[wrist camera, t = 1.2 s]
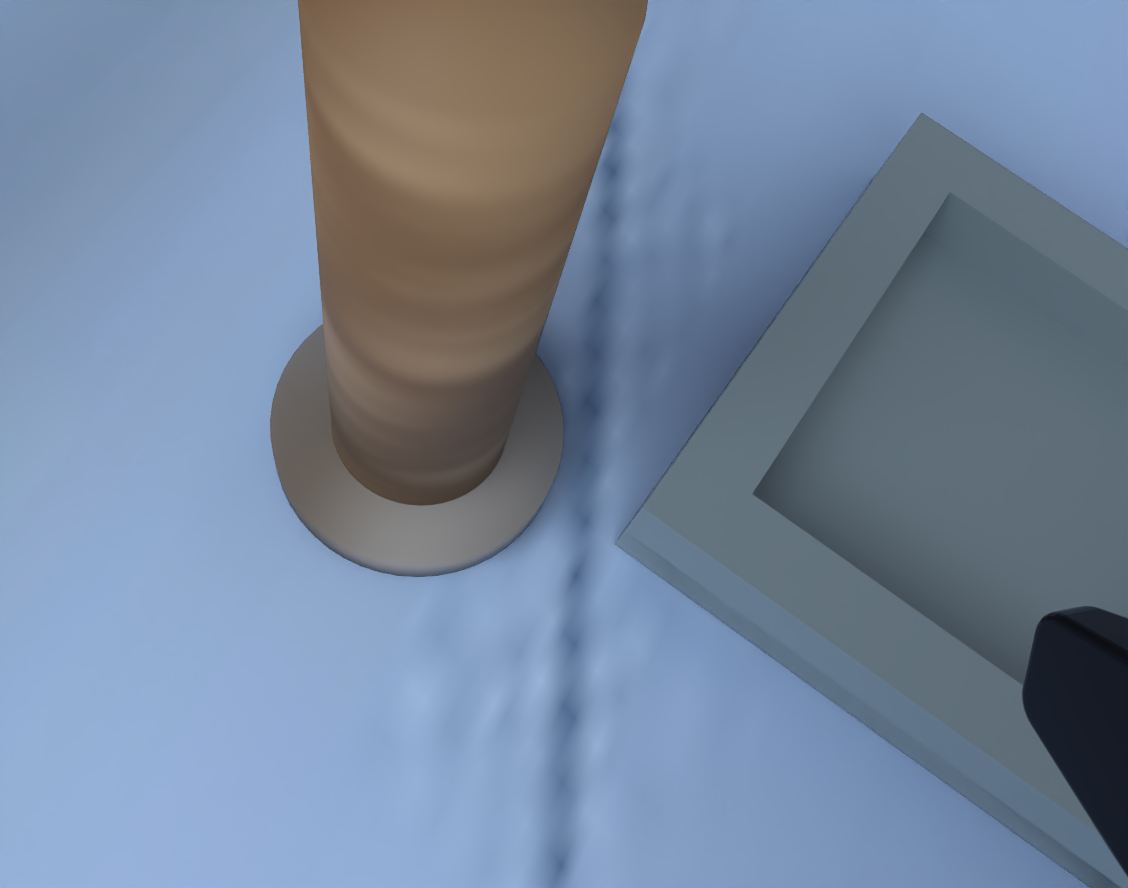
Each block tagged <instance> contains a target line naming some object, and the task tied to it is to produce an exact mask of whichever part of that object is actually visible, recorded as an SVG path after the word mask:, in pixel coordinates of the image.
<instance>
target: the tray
mask: <svg viewBox="0 0 1128 888" xmlns="http://www.w3.org/2000/svg"><path fill="white" fill-rule="evenodd" d="M615 545H617V546H618V547H619V548H621V549H622V550H624V551H625V552H626V553H628V554H629V555H630V556H632V557H633V558H635V559H636V560H637V561H639V562H640V563H642V564H643V565H644V566H646V567H647V568H648V569H650V570H651V571H653V572H654V573H655V574H657V575H658V576H660V577H661V578H662V579H664V580H665V581H667V582H668V583H669V584H671V585H672V586H673V587H675V588H676V589H678V590H679V591H680V592H682V593H683V594H685V595H686V596H687V597H689V598H690V599H691V600H693V601H694V602H696V603H697V604H698V605H700V606H701V607H703V608H704V609H705V610H707V611H708V612H709V613H711V614H712V615H714V616H715V617H716V618H718V619H719V620H721V621H722V622H723V623H725V624H726V625H727V626H729V627H730V628H732V629H733V630H734V631H736V632H737V633H739V634H740V635H741V636H743V637H744V638H745V639H747V640H748V641H750V642H751V643H752V644H754V645H755V646H757V647H758V648H759V649H761V650H762V651H763V652H765V653H766V654H768V655H769V656H770V657H772V658H773V659H775V660H776V661H777V662H779V663H780V664H781V665H783V666H784V667H786V668H787V669H788V670H790V671H791V672H793V673H794V674H795V675H797V676H798V677H799V678H801V679H802V680H804V681H805V682H806V683H808V684H809V685H811V686H812V687H813V688H815V689H816V690H818V691H819V692H820V693H822V694H823V695H824V696H826V697H827V698H829V699H830V700H831V701H833V702H834V703H836V704H837V705H838V706H840V707H841V708H842V709H844V710H845V711H847V712H848V713H849V714H851V715H852V716H854V717H855V718H856V719H858V720H859V721H860V722H862V723H863V724H865V725H866V726H867V727H869V728H870V729H872V730H873V731H874V732H876V733H877V734H878V735H880V736H881V737H883V738H884V739H885V740H887V741H888V742H890V743H891V744H892V745H894V746H895V747H896V748H898V749H899V750H901V751H902V752H903V753H905V754H906V755H908V756H909V757H910V758H912V759H913V760H914V761H916V762H917V763H919V764H920V765H921V766H923V767H924V768H926V769H927V770H928V771H930V772H931V773H932V774H934V775H935V776H937V777H938V778H939V779H941V780H942V781H944V782H945V783H946V784H948V785H949V786H950V787H952V788H953V789H955V790H956V791H957V792H959V793H960V794H962V795H963V796H964V797H966V798H967V799H969V800H970V801H971V802H973V803H974V804H975V805H977V806H978V807H980V808H981V809H982V810H984V811H985V812H987V813H988V814H989V815H991V816H992V817H993V818H995V819H996V820H998V821H999V822H1000V823H1002V824H1003V825H1005V826H1006V827H1007V828H1009V829H1010V830H1011V831H1013V832H1014V833H1016V834H1017V835H1018V836H1020V837H1021V838H1023V839H1024V840H1025V841H1027V842H1028V843H1029V844H1031V845H1032V846H1034V847H1035V848H1036V849H1038V850H1039V851H1041V852H1042V853H1043V854H1045V855H1046V856H1047V857H1049V858H1050V859H1052V860H1053V861H1054V862H1056V863H1057V864H1059V865H1060V866H1061V867H1063V868H1064V869H1065V870H1067V871H1068V872H1070V873H1071V874H1072V875H1074V876H1075V877H1077V878H1078V879H1079V880H1081V881H1082V882H1083V883H1085V884H1086V885H1088V886H1089V887H1090V888H1128V877H1127V876H1126V874H1125V873H1124V871H1123V870H1122V868H1121V867H1120V865H1119V864H1118V862H1117V861H1116V859H1115V858H1114V856H1113V855H1112V853H1111V851H1110V850H1109V848H1108V847H1107V845H1106V843H1105V842H1104V840H1103V839H1102V837H1101V835H1100V834H1099V832H1098V831H1097V829H1096V828H1095V826H1094V824H1093V823H1092V821H1091V820H1090V818H1089V816H1088V815H1087V813H1086V812H1085V810H1084V808H1083V807H1082V805H1081V804H1080V802H1079V800H1078V799H1077V797H1076V796H1075V794H1074V793H1073V791H1072V789H1071V788H1070V786H1069V785H1068V783H1067V781H1066V780H1065V778H1064V777H1063V775H1062V773H1061V772H1060V770H1059V769H1058V767H1057V766H1056V764H1055V762H1054V761H1053V759H1052V758H1051V756H1050V754H1049V753H1048V751H1047V750H1046V748H1045V746H1044V745H1043V743H1042V742H1041V740H1040V739H1039V737H1038V735H1037V734H1036V732H1035V731H1034V729H1033V727H1032V726H1031V724H1030V722H1029V720H1028V718H1027V716H1026V713H1025V711H1024V707H1023V702H1022V688H1023V683H1024V679H1025V674H1026V670H1027V665H1028V660H1029V656H1030V651H1031V647H1032V642H1033V638H1034V633H1035V629H1036V627H1037V624H1038V623H1039V621H1040V620H1041V619H1042V617H1043V616H1045V615H1047V614H1048V613H1051V612H1055V611H1060V610H1065V609H1070V608H1075V607H1080V606H1094V607H1098V608H1101V609H1104V610H1106V611H1109V612H1112V613H1115V614H1118V615H1121V616H1123V617H1126V618H1128V249H1127V248H1126V247H1124V246H1123V245H1121V244H1120V243H1118V242H1117V241H1115V240H1114V239H1112V238H1111V237H1109V236H1108V235H1106V234H1105V233H1103V232H1101V231H1100V230H1098V229H1097V228H1095V227H1094V226H1092V225H1091V224H1089V223H1088V222H1086V221H1085V220H1083V219H1082V218H1080V217H1079V216H1077V215H1076V214H1074V213H1073V212H1071V211H1070V210H1068V209H1067V208H1065V207H1064V206H1062V205H1061V204H1059V203H1058V202H1056V201H1055V200H1053V199H1052V198H1050V197H1049V196H1047V195H1046V194H1044V193H1043V192H1041V191H1040V190H1038V189H1037V188H1035V187H1033V186H1032V185H1030V184H1029V183H1027V182H1026V181H1024V180H1023V179H1021V178H1020V177H1018V176H1017V175H1015V174H1014V173H1012V172H1011V171H1009V170H1008V169H1006V168H1005V167H1003V166H1002V165H1000V164H999V163H997V162H996V161H994V160H993V159H991V158H990V157H988V156H987V155H985V154H984V153H982V152H981V151H979V150H978V149H976V148H975V147H973V146H972V145H970V144H968V143H967V142H965V141H964V140H962V139H961V138H959V137H958V136H956V135H955V134H953V133H952V132H950V131H949V130H947V129H946V128H944V127H943V126H941V125H940V124H938V123H937V122H935V121H934V120H932V119H931V118H929V117H928V116H926V115H925V114H923V113H921V114H920V115H919V117H918V118H917V119H916V121H915V122H914V124H913V125H912V126H911V128H910V129H909V130H908V132H907V133H906V134H905V136H904V137H903V138H902V140H901V141H900V143H899V144H898V145H897V147H896V148H895V149H894V151H893V152H892V153H891V155H890V156H889V158H888V159H887V160H886V162H885V163H884V164H883V166H882V167H881V168H880V170H879V171H878V173H877V174H876V175H875V177H874V178H873V179H872V181H871V182H870V184H869V185H868V187H867V188H866V189H865V191H864V192H863V194H862V195H861V196H860V198H859V199H858V201H857V202H856V203H855V205H854V206H853V208H852V209H851V211H850V212H849V213H848V215H847V216H846V218H845V219H844V220H843V222H842V223H841V225H840V226H839V227H838V229H837V230H836V232H835V233H834V235H833V236H832V237H831V239H830V240H829V242H828V243H827V244H826V246H825V247H824V249H823V250H822V252H821V253H820V254H819V256H818V257H817V259H816V260H815V261H814V263H813V264H812V266H811V267H810V268H809V270H808V271H807V273H806V274H805V276H804V277H803V278H802V280H801V281H800V283H799V284H798V285H797V287H796V288H795V290H794V291H793V292H792V294H791V295H790V297H789V298H788V300H787V301H786V302H785V304H784V305H783V307H782V308H781V309H780V311H779V312H778V314H777V315H776V317H775V318H774V319H773V321H772V322H771V324H770V325H769V326H768V328H767V329H766V331H765V332H764V333H763V335H762V336H761V338H760V339H759V341H758V342H757V343H756V345H755V346H754V348H753V349H752V350H751V352H750V353H749V355H748V356H747V357H746V359H745V360H744V362H743V363H742V365H741V366H740V367H739V369H738V370H737V372H736V373H735V374H734V376H733V377H732V379H731V380H730V381H729V383H728V384H727V386H726V387H725V389H724V390H723V391H722V393H721V394H720V396H719V397H718V398H717V400H716V401H715V403H714V404H713V406H712V407H711V408H710V410H709V411H708V413H707V414H706V415H705V417H704V418H703V420H702V421H701V422H700V424H699V425H698V427H697V428H696V430H695V431H694V432H693V434H692V435H691V437H690V438H689V439H688V441H687V442H686V444H685V445H684V446H683V448H682V449H681V451H680V452H679V454H678V455H677V456H676V458H675V459H674V461H673V462H672V463H671V465H670V466H669V468H668V469H667V470H666V472H665V473H664V475H663V476H662V478H661V479H660V480H659V482H658V483H657V485H656V486H655V487H654V489H653V490H652V492H651V493H650V495H649V496H648V497H647V499H646V500H645V502H644V503H643V504H642V506H641V507H640V509H639V510H638V511H637V513H636V514H635V516H634V517H633V519H632V520H631V521H630V523H629V524H628V526H627V527H626V528H625V530H624V531H623V533H622V534H621V535H620V537H619V538H618V540H617V541H616V543H615Z"/></svg>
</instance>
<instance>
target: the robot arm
mask: <svg viewBox="0 0 1128 888" xmlns="http://www.w3.org/2000/svg"><path fill="white" fill-rule="evenodd" d="M1022 702H1023V707H1024V711H1025V713H1026V716H1027V718H1028V720H1029V722H1030V724H1031V726H1032V727H1033V729H1034V731H1035V732H1036V734H1037V735H1038V737H1039V739H1040V740H1041V742H1042V743H1043V745H1044V746H1045V748H1046V750H1047V751H1048V753H1049V754H1050V756H1051V758H1052V759H1053V761H1054V762H1055V764H1056V766H1057V767H1058V769H1059V770H1060V772H1061V773H1062V775H1063V777H1064V778H1065V780H1066V781H1067V783H1068V785H1069V786H1070V788H1071V789H1072V791H1073V793H1074V794H1075V796H1076V797H1077V799H1078V800H1079V802H1080V804H1081V805H1082V807H1083V808H1084V810H1085V812H1086V813H1087V815H1088V816H1089V818H1090V820H1091V821H1092V823H1093V824H1094V826H1095V828H1096V829H1097V831H1098V832H1099V834H1100V835H1101V837H1102V839H1103V840H1104V842H1105V843H1106V845H1107V847H1108V848H1109V850H1110V851H1111V853H1112V855H1113V856H1114V858H1115V859H1116V861H1117V862H1118V864H1119V865H1120V867H1121V868H1122V870H1123V871H1124V873H1125V874H1126V876H1127V877H1128V618H1126V617H1123V616H1121V615H1118V614H1115V613H1112V612H1109V611H1106V610H1104V609H1101V608H1098V607H1094V606H1080V607H1075V608H1070V609H1065V610H1060V611H1055V612H1051V613H1048V614H1047V615H1045V616H1043V617H1042V619H1041V620H1040V621H1039V623H1038V624H1037V627H1036V629H1035V633H1034V638H1033V642H1032V647H1031V651H1030V656H1029V660H1028V665H1027V670H1026V674H1025V679H1024V683H1023V688H1022Z"/></svg>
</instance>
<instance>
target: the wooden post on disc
mask: <svg viewBox="0 0 1128 888" xmlns="http://www.w3.org/2000/svg"><path fill="white" fill-rule="evenodd" d="M647 3H648V0H298V7H299V19H300V32H301V45H302V58H303V70H304V83H305V96H306V109H307V121H308V134H309V147H310V160H311V173H312V185H313V198H314V211H315V224H316V236H317V249H318V262H319V275H320V288H321V300H322V313H323V325H321V326H320V327H319V328H318V329H316V330H315V331H314V332H313V333H312V334H311V335H310V336H309V337H308V338H307V339H306V340H305V341H304V342H303V343H302V344H301V346H300V347H299V348H298V349H297V350H296V352H295V353H294V354H293V356H292V357H291V359H290V361H289V362H288V364H287V365H286V367H285V369H284V371H283V373H282V375H281V378H280V380H279V382H278V384H277V388H276V392H275V395H274V399H273V403H272V410H271V418H270V431H271V443H272V449H273V455H274V460H275V464H276V469H277V473H278V476H279V479H280V482H281V486H282V489H283V491H284V493H285V495H286V497H287V499H288V502H289V504H290V506H291V507H292V509H293V510H294V512H295V513H296V515H297V516H298V518H299V519H300V521H301V522H302V523H303V524H304V525H305V526H306V528H307V529H308V530H309V531H310V532H311V533H312V534H313V535H314V536H315V537H316V538H317V539H318V540H320V541H321V542H322V543H323V544H324V545H325V546H327V547H328V548H329V549H331V550H332V551H334V552H335V553H337V554H339V555H340V556H342V557H343V558H345V559H347V560H349V561H351V562H354V563H356V564H358V565H360V566H362V567H365V568H369V569H372V570H375V571H378V572H382V573H387V574H392V575H398V576H412V577H424V576H438V575H443V574H448V573H453V572H457V571H460V570H463V569H466V568H469V567H472V566H475V565H477V564H479V563H481V562H483V561H485V560H487V559H489V558H491V557H493V556H494V555H496V554H497V553H499V552H500V551H502V550H503V549H505V548H506V547H507V546H509V545H510V544H511V543H512V542H513V541H514V540H515V539H517V538H518V537H519V536H520V535H521V534H522V533H523V531H524V530H525V529H526V528H527V527H528V526H529V525H530V523H531V522H532V521H533V519H534V518H535V516H536V514H537V513H538V511H539V510H540V508H541V506H542V504H543V502H544V500H545V498H546V496H547V494H548V492H549V490H550V488H551V486H552V483H553V481H554V479H555V477H556V474H557V471H558V468H559V464H560V461H561V456H562V449H563V443H564V423H563V415H562V408H561V404H560V400H559V396H558V393H557V390H556V388H555V385H554V383H553V380H552V378H551V376H550V374H549V372H548V370H547V369H546V367H545V365H544V364H543V362H542V360H541V359H540V358H539V356H538V355H537V354H536V350H537V347H538V344H539V341H540V338H541V334H542V331H543V328H544V325H545V322H546V319H547V316H548V313H549V310H550V307H551V304H552V301H553V298H554V295H555V292H556V289H557V286H558V283H559V280H560V277H561V274H562V271H563V268H564V264H565V261H566V258H567V255H568V252H569V249H570V246H571V243H572V240H573V237H574V234H575V231H576V228H577V225H578V222H579V219H580V216H581V213H582V210H583V207H584V204H585V201H586V198H587V195H588V191H589V188H590V185H591V182H592V179H593V176H594V173H595V170H596V167H597V164H598V161H599V158H600V155H601V152H602V149H603V146H604V143H605V140H606V137H607V134H608V131H609V128H610V125H611V121H612V118H613V115H614V112H615V109H616V106H617V103H618V100H619V97H620V94H621V91H622V88H623V85H624V82H625V79H626V76H627V73H628V70H629V67H630V64H631V61H632V58H633V55H634V51H635V48H636V45H637V42H638V39H639V36H640V33H641V30H642V27H643V24H644V21H645V17H646V10H647Z"/></svg>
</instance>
